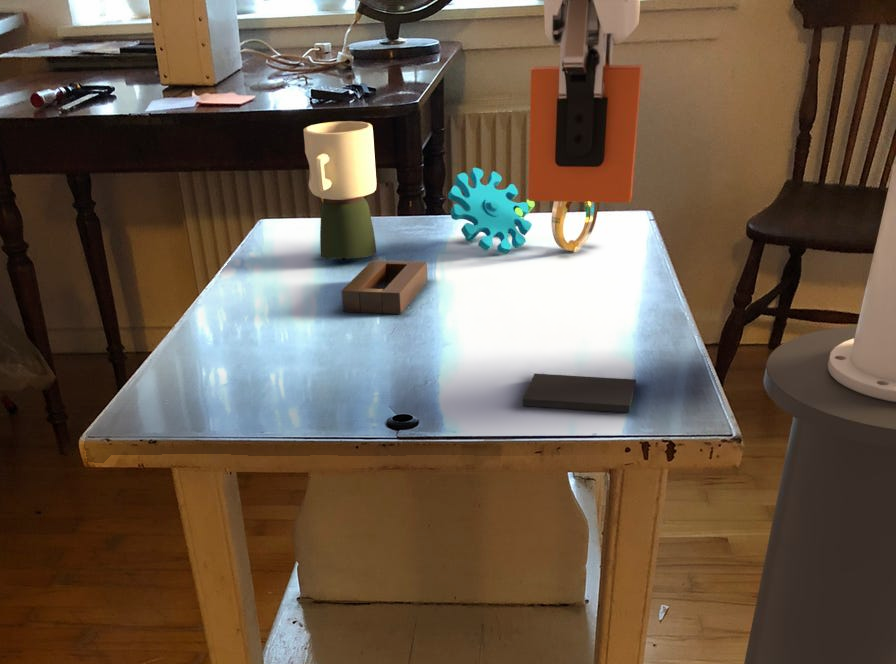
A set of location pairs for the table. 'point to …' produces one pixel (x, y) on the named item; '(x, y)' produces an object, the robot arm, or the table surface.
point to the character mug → (343, 186)
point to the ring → (558, 221)
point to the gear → (490, 211)
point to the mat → (580, 393)
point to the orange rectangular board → (620, 140)
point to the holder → (395, 297)
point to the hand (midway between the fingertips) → (581, 160)
